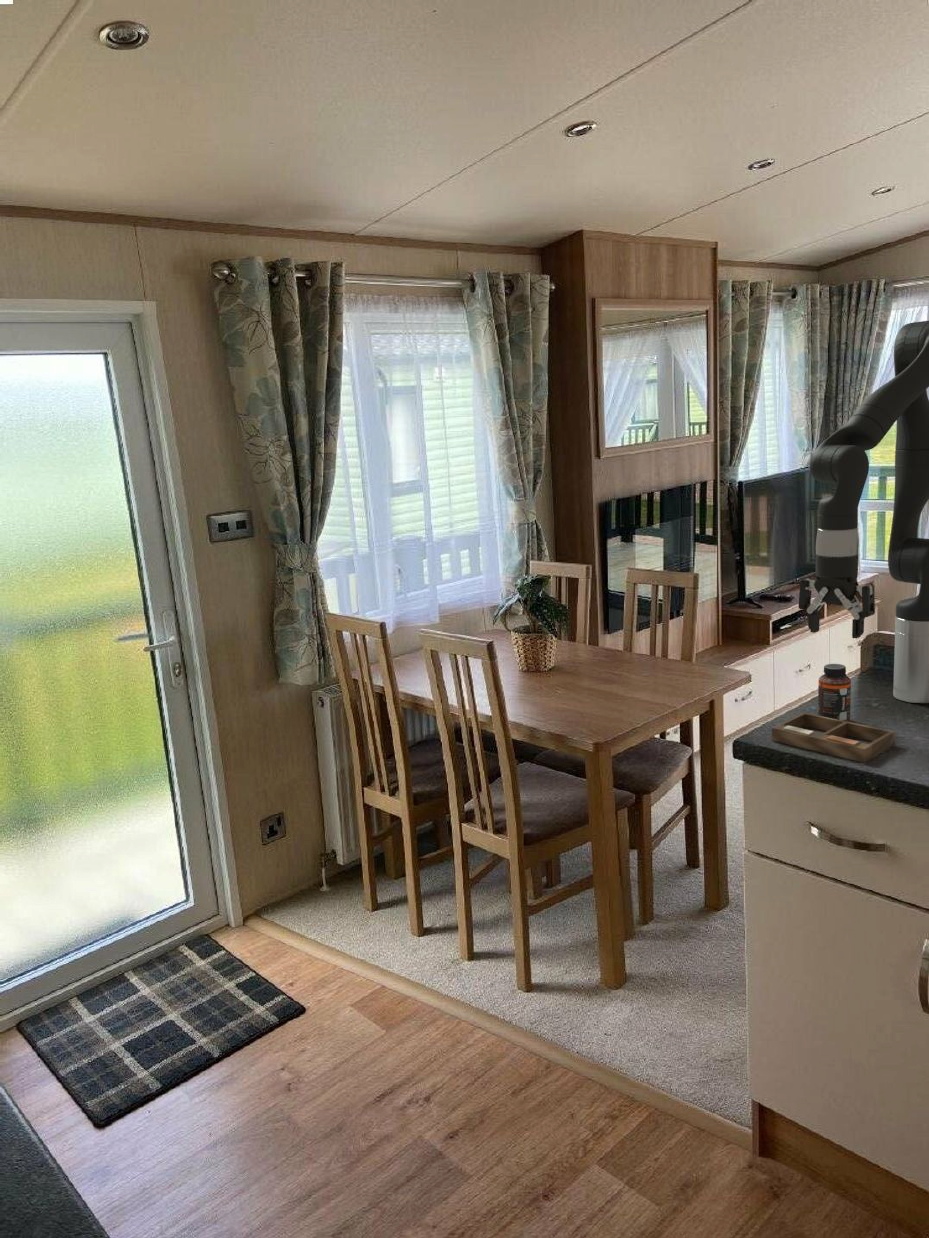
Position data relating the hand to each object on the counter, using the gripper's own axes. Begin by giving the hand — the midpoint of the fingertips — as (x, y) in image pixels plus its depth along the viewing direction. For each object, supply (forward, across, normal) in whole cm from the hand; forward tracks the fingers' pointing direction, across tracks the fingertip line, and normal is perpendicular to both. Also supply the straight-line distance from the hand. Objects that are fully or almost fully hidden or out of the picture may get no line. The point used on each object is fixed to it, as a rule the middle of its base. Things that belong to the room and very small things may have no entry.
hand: (835, 634), depth 183 cm
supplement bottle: (+18, 0, 0) cm, 18 cm away
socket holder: (+18, -5, +11) cm, 21 cm away
